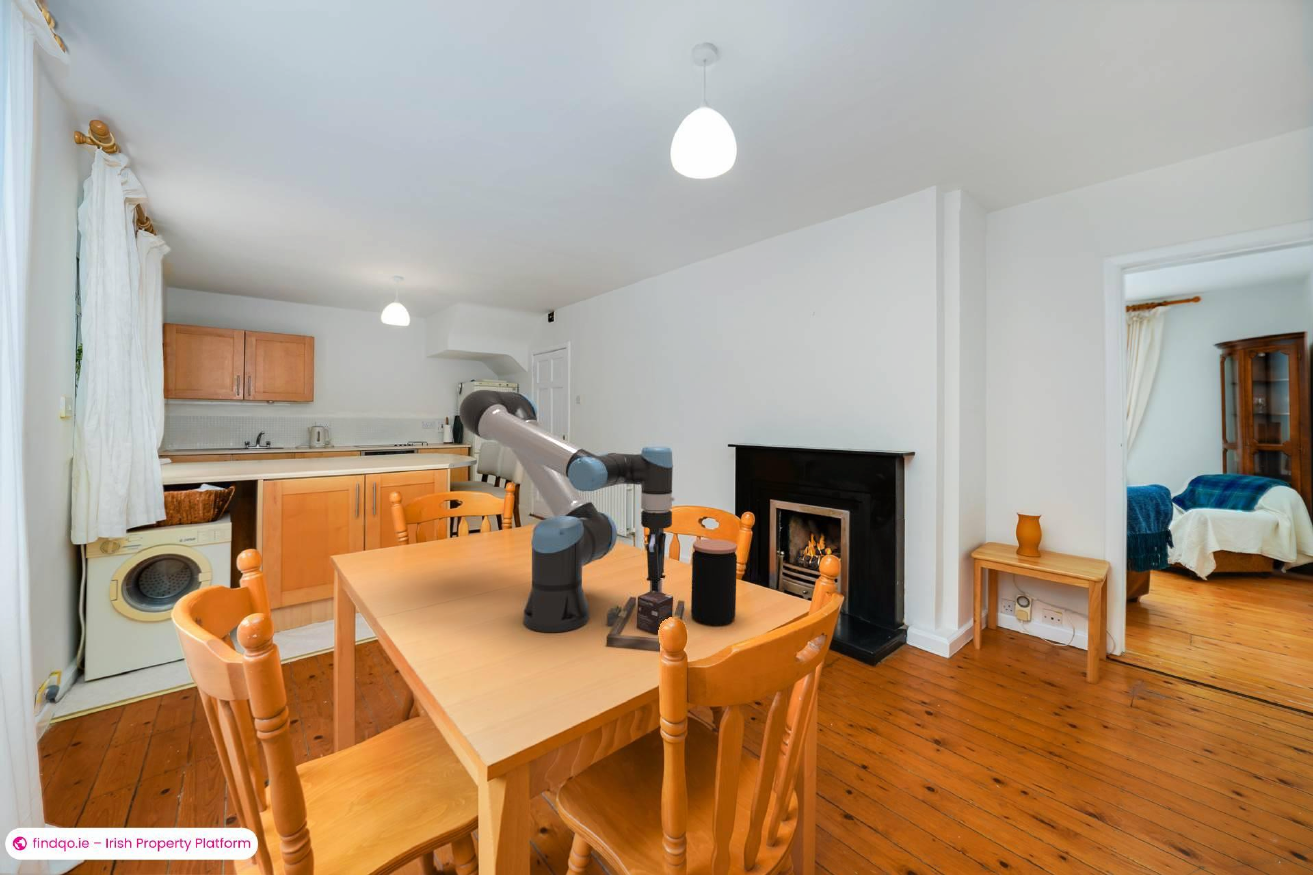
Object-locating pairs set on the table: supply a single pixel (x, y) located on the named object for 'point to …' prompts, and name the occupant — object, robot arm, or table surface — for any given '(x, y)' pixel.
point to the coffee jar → (714, 581)
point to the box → (653, 610)
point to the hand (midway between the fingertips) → (655, 605)
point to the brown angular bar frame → (619, 620)
